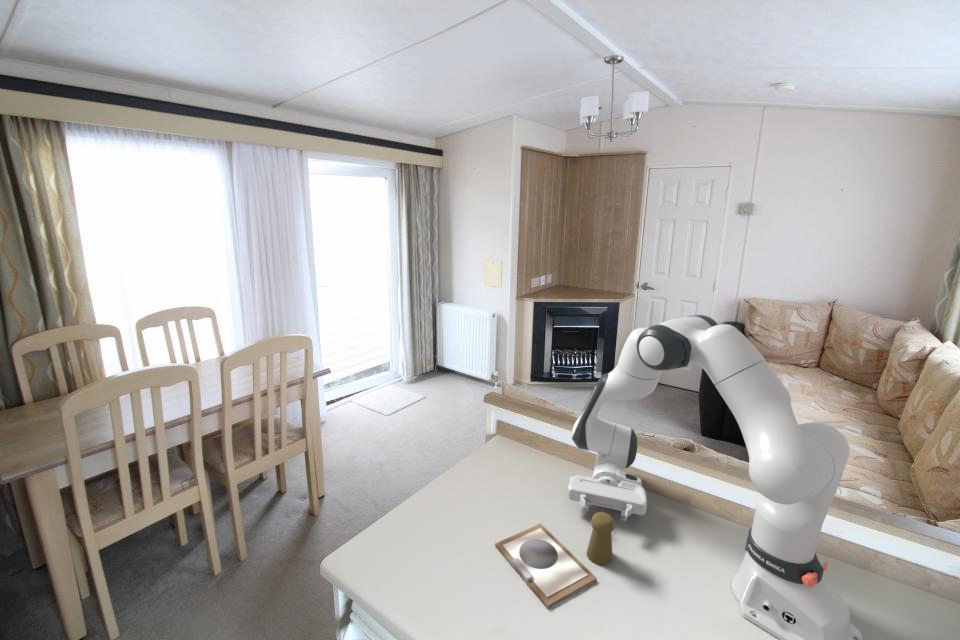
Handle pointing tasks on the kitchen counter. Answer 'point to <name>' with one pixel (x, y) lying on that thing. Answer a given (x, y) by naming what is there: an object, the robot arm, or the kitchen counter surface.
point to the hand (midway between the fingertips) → (604, 513)
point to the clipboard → (545, 565)
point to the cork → (601, 539)
